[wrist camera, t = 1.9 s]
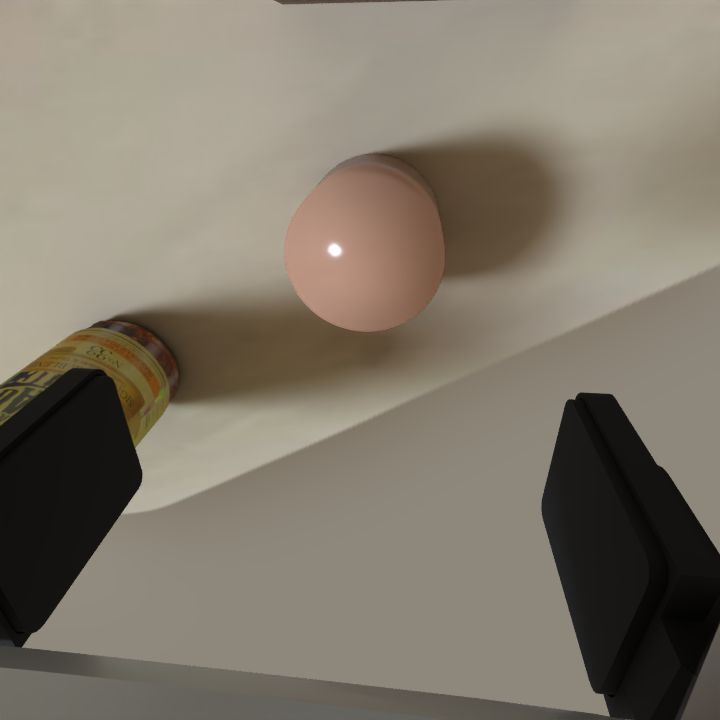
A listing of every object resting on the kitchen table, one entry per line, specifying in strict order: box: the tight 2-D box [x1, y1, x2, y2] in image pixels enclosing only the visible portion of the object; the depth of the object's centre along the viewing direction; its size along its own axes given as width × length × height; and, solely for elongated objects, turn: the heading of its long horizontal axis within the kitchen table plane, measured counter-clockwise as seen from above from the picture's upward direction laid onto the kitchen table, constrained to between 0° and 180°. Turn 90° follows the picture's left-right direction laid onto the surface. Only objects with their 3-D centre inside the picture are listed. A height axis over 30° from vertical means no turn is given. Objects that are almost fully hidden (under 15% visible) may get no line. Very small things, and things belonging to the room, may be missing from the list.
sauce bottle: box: [0, 321, 180, 448], centre depth 19 cm, size 7×6×20 cm
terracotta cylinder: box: [285, 154, 445, 332], centre depth 20 cm, size 6×6×5 cm
